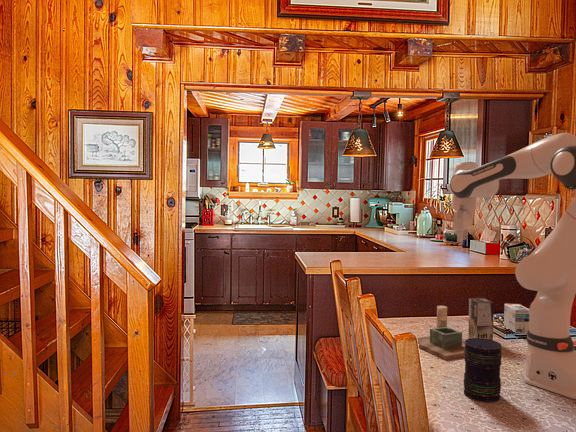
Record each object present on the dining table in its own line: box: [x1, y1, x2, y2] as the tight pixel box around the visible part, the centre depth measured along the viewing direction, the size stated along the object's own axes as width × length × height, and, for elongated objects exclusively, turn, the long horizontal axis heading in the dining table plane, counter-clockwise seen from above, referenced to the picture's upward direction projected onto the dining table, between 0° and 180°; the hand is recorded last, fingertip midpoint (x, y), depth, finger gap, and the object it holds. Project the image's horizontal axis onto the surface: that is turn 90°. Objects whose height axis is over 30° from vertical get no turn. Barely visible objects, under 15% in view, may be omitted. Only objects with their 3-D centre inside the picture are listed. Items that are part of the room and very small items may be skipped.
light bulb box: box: [503, 303, 530, 335], centre depth 196 cm, size 11×7×11 cm, turn 179°
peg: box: [436, 305, 448, 328], centre depth 198 cm, size 4×4×10 cm
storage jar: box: [463, 338, 503, 403], centre depth 135 cm, size 10×10×15 cm
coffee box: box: [468, 297, 495, 341], centre depth 184 cm, size 9×6×16 cm
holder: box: [416, 326, 465, 361], centre depth 176 cm, size 20×18×6 cm
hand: (462, 240), depth 183 cm, fingers open, 8 cm apart
